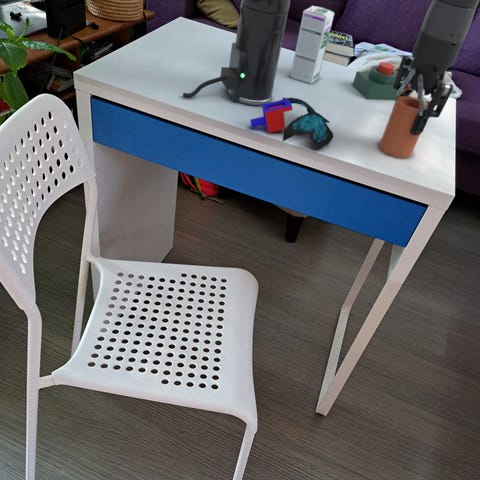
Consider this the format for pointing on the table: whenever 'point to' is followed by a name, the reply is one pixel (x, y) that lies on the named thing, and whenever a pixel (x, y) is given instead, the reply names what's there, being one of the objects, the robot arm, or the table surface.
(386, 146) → the jar
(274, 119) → the toy building block
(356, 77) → the green button base
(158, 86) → the table surface
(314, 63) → the syrup box
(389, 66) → the button
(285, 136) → the butterfly
